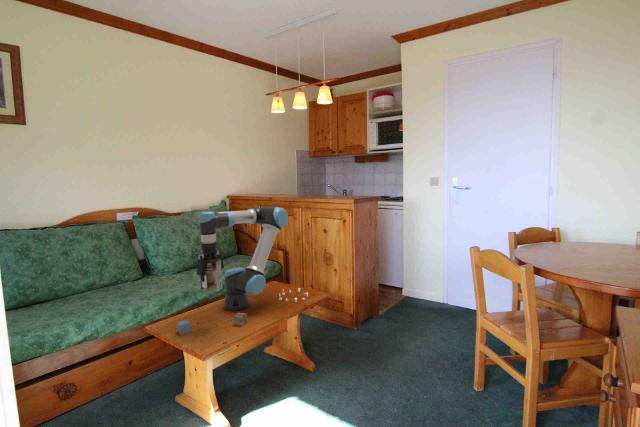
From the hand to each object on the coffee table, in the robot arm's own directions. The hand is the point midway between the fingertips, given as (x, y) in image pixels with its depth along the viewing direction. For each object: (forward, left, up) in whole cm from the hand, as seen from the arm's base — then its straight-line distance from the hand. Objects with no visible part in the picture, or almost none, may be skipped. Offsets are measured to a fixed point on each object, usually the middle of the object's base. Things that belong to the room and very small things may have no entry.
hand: (211, 285), depth 192 cm
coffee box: (0, 0, -3) cm, 3 cm away
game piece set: (-57, +8, -23) cm, 62 cm away
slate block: (+12, -9, -23) cm, 27 cm away
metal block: (-10, +9, -23) cm, 27 cm away
